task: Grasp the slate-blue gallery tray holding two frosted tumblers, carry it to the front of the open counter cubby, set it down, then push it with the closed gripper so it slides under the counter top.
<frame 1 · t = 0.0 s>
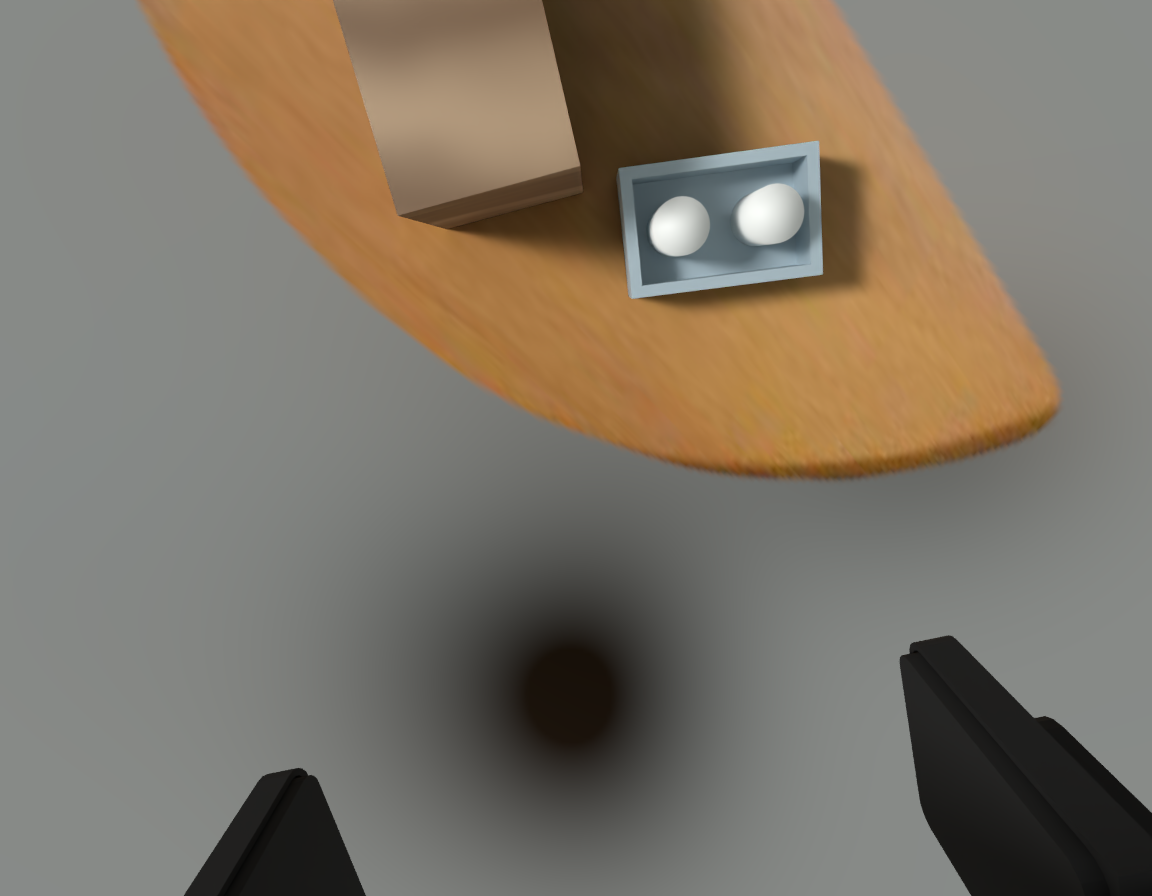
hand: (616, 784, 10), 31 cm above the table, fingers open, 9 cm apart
counter: (478, 72, 36), on the table
tray: (710, 226, 38), on the table
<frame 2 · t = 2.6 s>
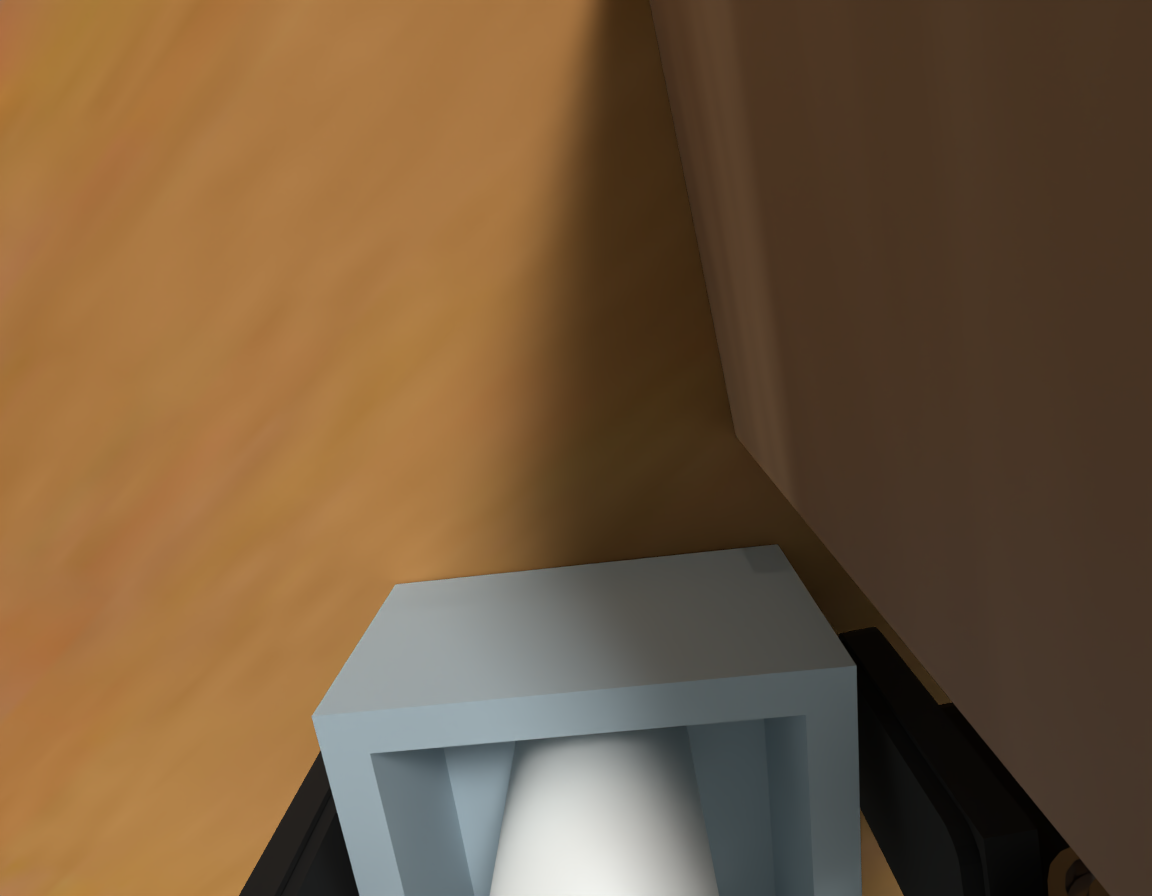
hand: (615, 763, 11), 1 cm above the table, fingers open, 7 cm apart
tray: (616, 808, 13), on the table, touching gripper
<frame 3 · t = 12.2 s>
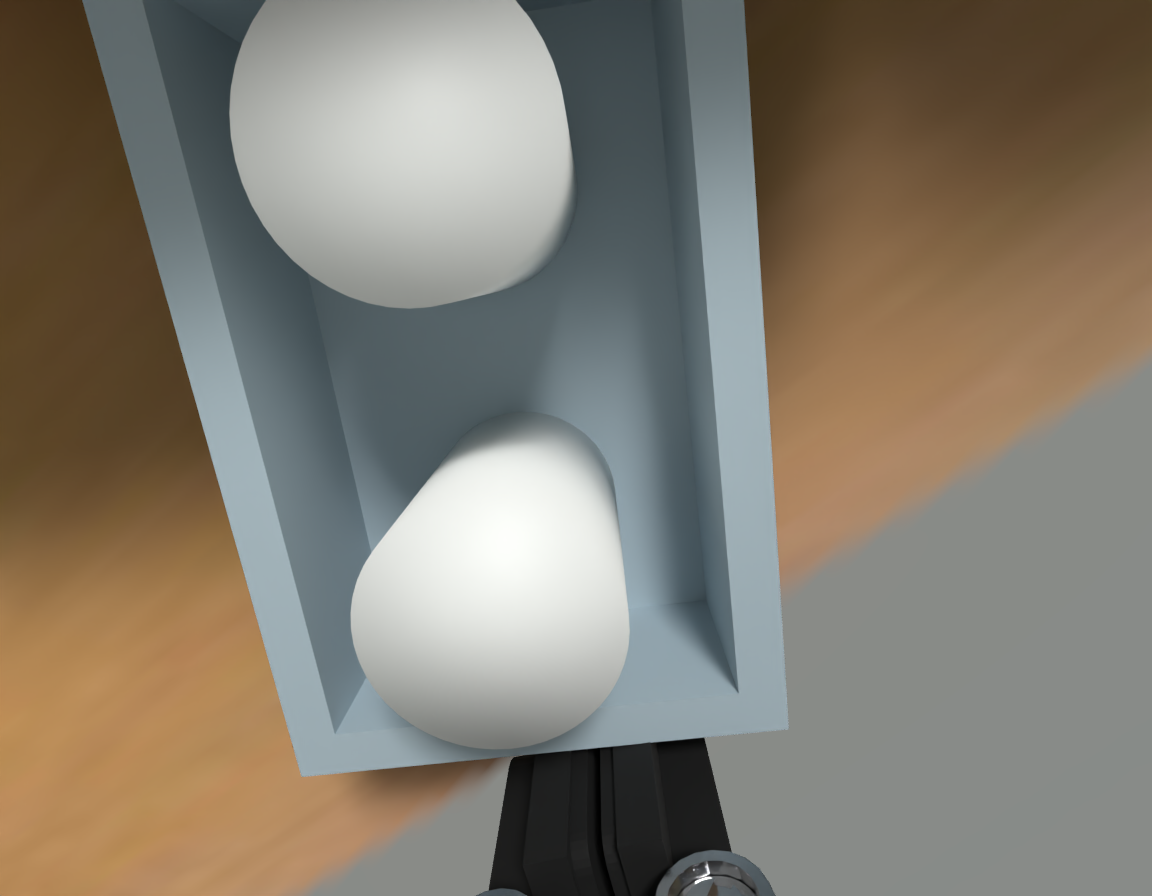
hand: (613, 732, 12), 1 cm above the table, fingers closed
tray: (511, 346, 11), on the table, touching gripper
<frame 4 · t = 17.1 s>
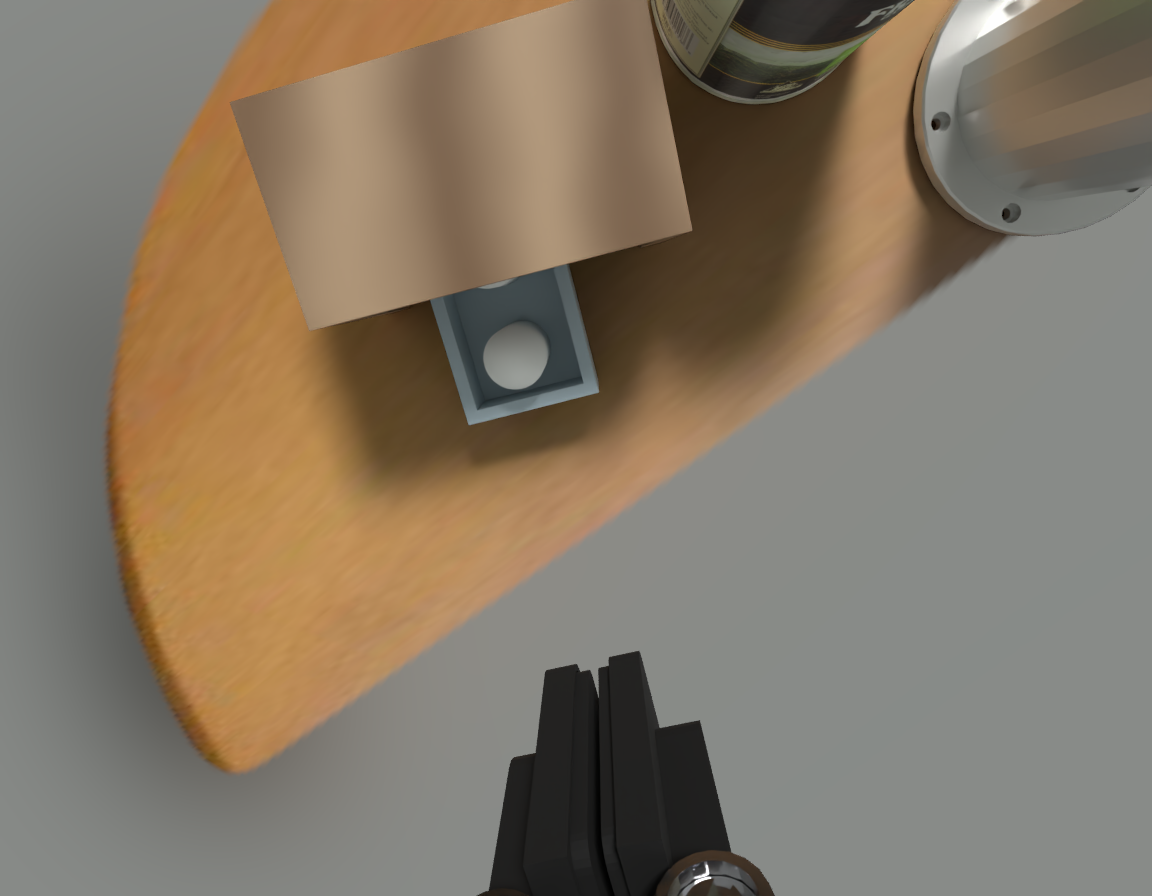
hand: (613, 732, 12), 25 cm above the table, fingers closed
counter: (501, 197, 33), on the table
tray: (512, 302, 34), on the table
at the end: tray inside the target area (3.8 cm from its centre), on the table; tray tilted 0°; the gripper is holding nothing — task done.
